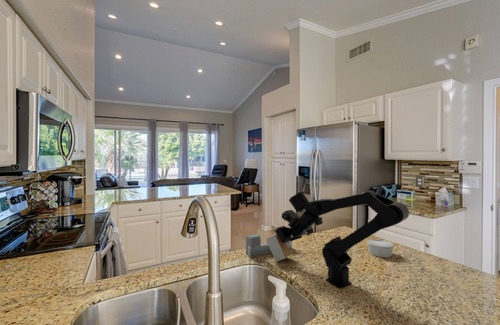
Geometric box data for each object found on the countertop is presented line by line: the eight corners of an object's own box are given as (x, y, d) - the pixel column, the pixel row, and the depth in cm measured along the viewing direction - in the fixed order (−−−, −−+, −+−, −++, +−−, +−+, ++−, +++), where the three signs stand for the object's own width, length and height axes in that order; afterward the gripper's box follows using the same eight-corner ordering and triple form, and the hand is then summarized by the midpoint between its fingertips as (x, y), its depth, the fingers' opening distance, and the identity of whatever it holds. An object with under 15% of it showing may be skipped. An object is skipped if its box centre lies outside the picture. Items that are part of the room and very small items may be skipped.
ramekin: (386, 249, 117) (386, 239, 116) (398, 259, 105) (398, 247, 105) (363, 248, 118) (363, 238, 118) (372, 258, 107) (372, 246, 106)
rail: (292, 248, 117) (293, 239, 117) (250, 258, 106) (251, 247, 106) (289, 246, 120) (289, 237, 120) (247, 255, 108) (247, 245, 108)
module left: (260, 254, 110) (260, 235, 109) (251, 256, 107) (251, 237, 107) (255, 251, 114) (255, 232, 114) (245, 253, 111) (245, 234, 111)
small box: (285, 258, 99) (274, 234, 102) (275, 262, 102) (265, 238, 105) (294, 252, 105) (284, 230, 108) (284, 256, 108) (274, 234, 111)
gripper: (308, 202, 105) (288, 222, 114) (278, 207, 93) (259, 229, 102) (323, 224, 99) (301, 242, 108) (294, 232, 87) (272, 252, 96)
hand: (284, 241), depth 104 cm, fingers closed
